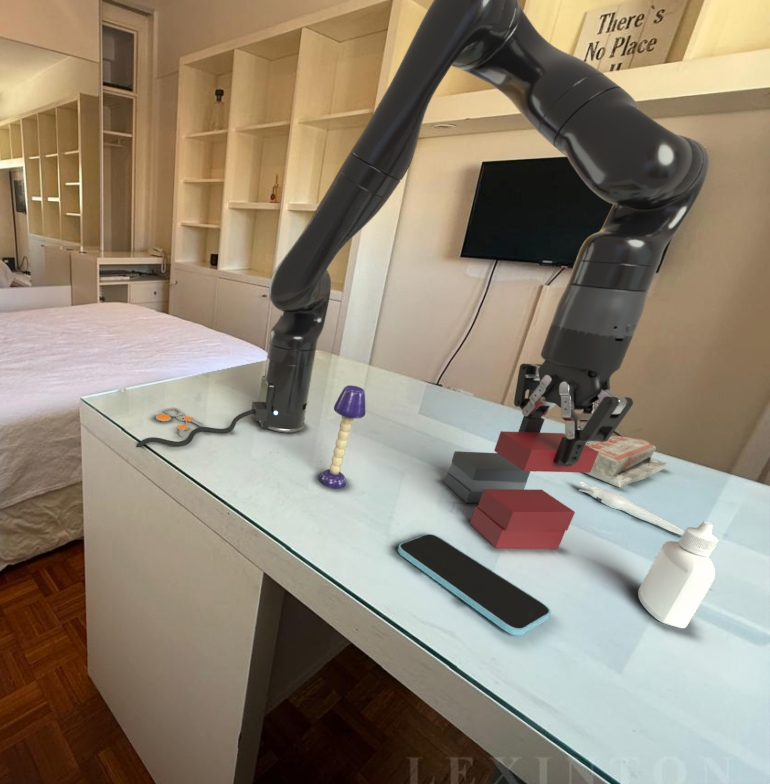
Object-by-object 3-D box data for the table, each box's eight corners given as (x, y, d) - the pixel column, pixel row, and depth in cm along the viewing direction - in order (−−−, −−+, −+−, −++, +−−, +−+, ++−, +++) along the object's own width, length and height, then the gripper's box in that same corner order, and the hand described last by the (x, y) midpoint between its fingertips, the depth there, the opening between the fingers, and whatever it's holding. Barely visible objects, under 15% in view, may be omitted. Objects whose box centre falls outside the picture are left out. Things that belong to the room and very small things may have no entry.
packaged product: (632, 465, 76) (564, 440, 85) (620, 490, 78) (555, 463, 86) (676, 447, 84) (610, 426, 92) (665, 470, 86) (601, 447, 94)
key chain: (149, 413, 96) (149, 409, 96) (178, 408, 100) (179, 404, 100) (178, 438, 86) (178, 433, 86) (210, 431, 90) (210, 427, 89)
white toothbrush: (571, 489, 77) (575, 480, 76) (580, 487, 78) (584, 477, 77) (688, 546, 64) (694, 535, 63) (698, 542, 65) (704, 531, 64)
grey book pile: (466, 503, 71) (477, 469, 69) (442, 481, 77) (452, 450, 75) (522, 504, 72) (534, 471, 70) (494, 482, 78) (505, 451, 76)
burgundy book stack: (496, 549, 61) (510, 512, 59) (469, 523, 66) (481, 487, 64) (561, 550, 61) (577, 513, 59) (529, 524, 67) (542, 489, 65)
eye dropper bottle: (629, 608, 52) (675, 521, 48) (639, 587, 56) (683, 504, 51) (683, 635, 49) (737, 544, 45) (690, 611, 52) (741, 525, 48)
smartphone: (431, 532, 62) (555, 610, 49) (429, 538, 62) (552, 618, 50) (395, 545, 59) (517, 632, 46) (393, 552, 59) (514, 641, 47)
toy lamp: (349, 479, 76) (369, 385, 70) (349, 493, 72) (370, 395, 66) (319, 473, 77) (337, 380, 71) (318, 486, 73) (336, 389, 67)
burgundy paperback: (523, 471, 57) (531, 450, 56) (493, 450, 62) (500, 431, 61) (590, 472, 58) (599, 451, 57) (555, 452, 63) (563, 433, 62)
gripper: (516, 312, 60) (479, 429, 66) (620, 339, 46) (562, 482, 52) (569, 315, 60) (528, 430, 66) (687, 342, 47) (622, 483, 53)
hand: (543, 452), depth 59 cm, fingers closed on burgundy paperback, 5 cm apart
